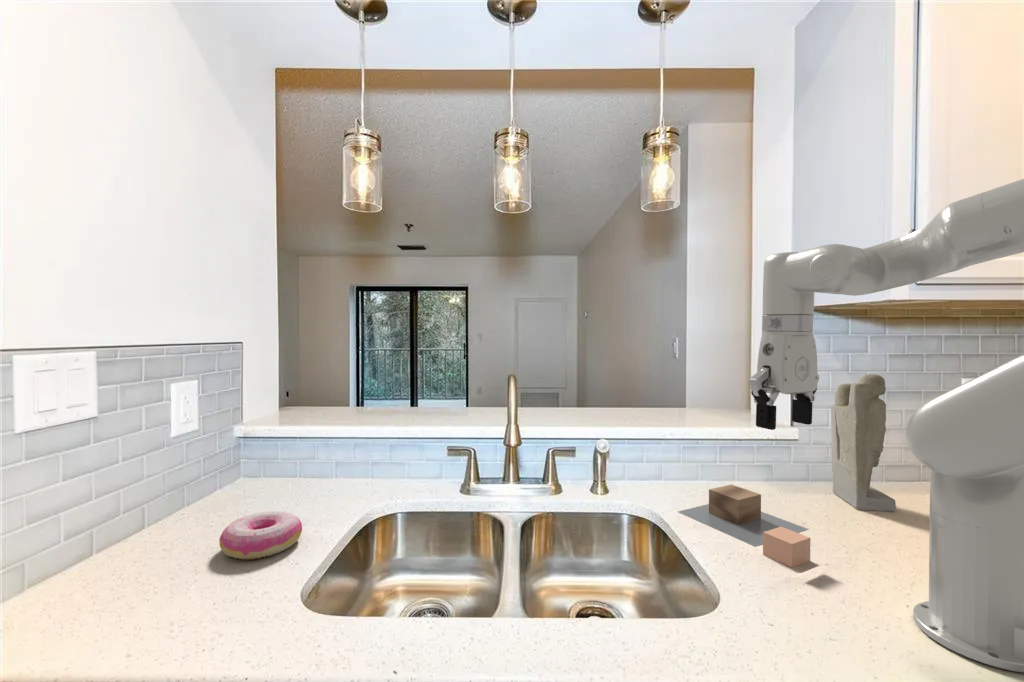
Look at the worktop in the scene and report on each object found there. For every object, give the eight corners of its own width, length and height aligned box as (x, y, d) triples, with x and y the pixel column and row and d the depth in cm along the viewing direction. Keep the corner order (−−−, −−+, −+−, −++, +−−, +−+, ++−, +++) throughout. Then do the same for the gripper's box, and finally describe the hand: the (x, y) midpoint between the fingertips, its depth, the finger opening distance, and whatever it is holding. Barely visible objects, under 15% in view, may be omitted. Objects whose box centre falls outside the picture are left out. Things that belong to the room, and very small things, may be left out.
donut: (273, 567, 77) (273, 538, 77) (200, 564, 78) (199, 535, 78) (315, 533, 90) (315, 508, 90) (252, 530, 91) (251, 505, 91)
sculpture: (904, 517, 96) (906, 376, 96) (861, 514, 98) (862, 375, 98) (865, 493, 111) (866, 370, 111) (828, 490, 113) (828, 370, 112)
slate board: (808, 534, 88) (808, 529, 88) (755, 552, 81) (755, 546, 81) (727, 503, 104) (727, 499, 104) (677, 516, 97) (677, 511, 97)
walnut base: (760, 518, 93) (761, 494, 93) (738, 525, 90) (738, 500, 90) (731, 507, 100) (731, 484, 100) (708, 512, 97) (708, 489, 97)
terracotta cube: (810, 567, 76) (810, 537, 76) (791, 574, 74) (792, 544, 74) (781, 554, 81) (781, 526, 80) (762, 560, 78) (763, 532, 78)
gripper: (775, 325, 70) (772, 435, 71) (840, 326, 78) (836, 425, 79) (733, 325, 77) (730, 425, 78) (796, 326, 85) (793, 417, 85)
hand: (784, 425), depth 78 cm, fingers open, 9 cm apart
